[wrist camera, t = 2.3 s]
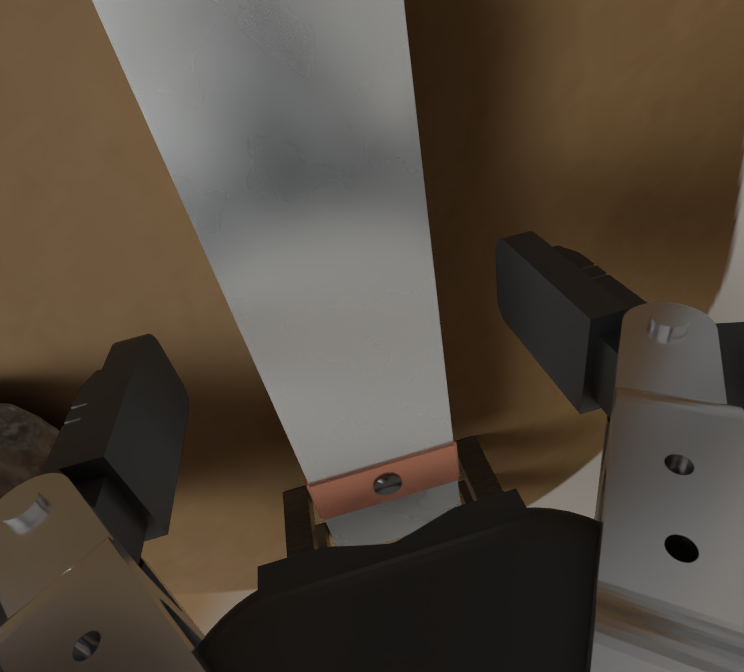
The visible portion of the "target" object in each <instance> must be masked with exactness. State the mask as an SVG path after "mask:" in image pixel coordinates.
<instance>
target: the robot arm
mask: <svg viewBox="0 0 744 672" xmlns="http://www.w3.org/2000/svg"><path fill="white" fill-rule="evenodd" d="M496 275H497V299H498V305H499V309H500V312H501V315H502V317H503V319H504V320H505V322H506V323H507V325H508V326H509V327H510V328H511V330H512V331H513V332H514V333H515V334H516V336H517V337H518V338H519V339H520V341H521V342H522V343H523V344H524V346H525V347H526V348H527V349H528V351H529V352H530V353H531V354H532V355H533V357H534V358H535V359H536V360H537V362H538V363H539V364H540V365H541V367H542V368H543V369H544V370H545V371H546V373H547V374H548V375H549V376H550V378H551V379H552V380H553V381H554V383H555V384H556V385H557V386H558V388H559V389H560V390H561V391H562V392H563V394H564V395H565V396H566V397H567V399H568V400H569V401H570V402H571V404H572V405H573V406H574V407H575V409H576V410H577V411H578V412H579V413H580V414H583V413H586V412H590V411H593V410H596V409H600V408H602V410H603V411H604V412H605V413H606V414H607V420H606V426H605V435H604V443H603V452H602V461H601V469H600V478H599V486H598V495H597V503H596V511H595V517H594V519H591V518H589V517H586V516H583V515H579V514H576V513H572V512H569V511H563V510H557V509H551V508H536V507H535V508H526V506H525V504H524V502H523V501H522V499H521V497H520V495H519V493H518V491H517V490H516V489H513V490H510V491H506V492H503V493H500V494H496V495H493V496H490V497H486V498H483V499H480V500H477V501H473V502H470V503H467V504H463V505H460V506H457V507H454V508H452V509H450V510H449V511H447V512H445V513H444V514H442V515H440V516H439V517H437V518H435V519H434V520H432V521H430V522H429V523H427V524H425V525H424V526H422V527H420V528H419V529H417V530H415V531H414V532H412V533H410V534H409V535H407V536H405V537H404V538H402V539H400V540H398V541H396V542H394V543H391V544H378V545H356V546H335V547H321V548H318V549H315V550H311V551H308V552H305V553H301V554H298V555H295V556H291V557H288V558H285V559H281V560H278V561H275V562H272V563H268V564H265V565H262V566H258V590H257V591H255V592H254V593H252V594H250V595H249V596H248V597H246V598H245V599H243V600H242V601H241V602H239V603H238V604H237V605H235V606H234V607H233V608H232V609H231V610H230V611H229V612H228V613H227V614H225V615H224V616H223V617H222V618H221V619H220V620H219V621H218V623H217V624H216V625H215V626H214V627H213V628H212V629H211V630H210V631H209V632H208V633H207V635H206V636H205V635H204V634H203V633H202V632H201V631H200V629H199V628H198V627H197V626H196V624H195V623H194V622H193V621H192V619H191V618H190V617H189V616H188V614H187V613H186V612H185V610H184V609H183V608H182V607H181V605H180V604H179V603H178V602H177V600H176V599H175V598H174V596H173V595H172V594H171V593H170V591H169V590H168V589H167V587H166V586H165V585H164V584H163V582H162V581H161V580H160V578H159V577H158V576H157V575H156V573H155V572H154V571H153V569H152V568H151V567H150V566H149V564H148V563H147V562H146V561H145V560H144V559H143V558H142V557H141V553H142V548H143V544H144V541H147V540H151V539H154V538H157V537H161V536H164V535H168V531H169V525H170V519H171V513H172V507H173V501H174V495H175V489H176V483H177V477H178V471H179V465H180V460H181V454H182V448H183V442H184V436H185V430H186V424H187V418H188V412H189V402H188V396H187V393H186V390H185V387H184V385H183V383H182V381H181V380H180V378H179V376H178V375H177V373H176V371H175V369H174V368H173V366H172V364H171V363H170V361H169V359H168V357H167V356H166V354H165V352H164V350H163V349H162V347H161V345H160V344H159V342H158V340H157V339H156V338H155V337H154V336H153V335H151V334H146V335H142V336H138V337H135V338H131V339H127V340H124V341H120V342H116V343H114V344H113V345H112V347H111V349H110V352H109V354H108V356H107V358H106V361H105V363H104V365H103V368H102V370H98V371H96V372H95V373H94V374H93V375H92V376H91V377H90V378H89V379H88V381H87V382H86V383H85V384H84V385H83V386H82V387H81V388H80V389H79V391H78V393H77V396H76V398H75V400H74V402H73V404H72V406H71V408H72V410H70V411H69V413H68V415H67V417H66V419H65V421H64V423H65V425H64V426H62V428H61V430H60V432H59V434H58V436H57V438H56V440H55V442H54V445H53V447H52V449H51V451H50V453H49V455H48V457H47V459H46V462H45V464H44V466H43V468H42V470H41V472H40V474H39V476H37V477H34V478H32V479H29V480H27V481H25V482H24V483H22V484H20V485H18V486H17V487H15V488H14V489H12V490H11V491H10V492H8V493H7V494H6V495H4V496H3V497H2V498H1V499H0V672H744V322H736V323H719V324H715V322H714V321H713V320H712V319H711V318H710V317H709V316H707V315H706V314H705V313H703V312H701V311H699V310H697V309H695V308H692V307H689V306H686V305H682V304H677V303H670V302H652V303H647V302H645V301H644V300H643V299H641V298H640V297H639V296H637V295H636V294H634V293H633V292H632V291H630V290H629V289H628V288H626V287H625V286H624V285H622V284H621V283H620V282H618V281H617V280H616V279H614V278H613V277H611V276H610V275H606V272H605V271H603V270H602V269H601V268H599V267H598V266H594V263H592V262H591V261H590V260H588V259H587V258H586V257H584V256H583V255H582V254H580V253H579V252H576V251H573V250H570V249H567V248H564V247H561V246H554V247H552V246H550V245H549V244H548V243H547V242H545V241H544V240H543V239H542V238H540V237H539V236H538V235H536V234H535V233H534V232H532V231H529V232H525V233H521V234H518V235H514V236H510V237H507V238H503V239H500V240H498V241H497V244H496Z"/></svg>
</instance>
